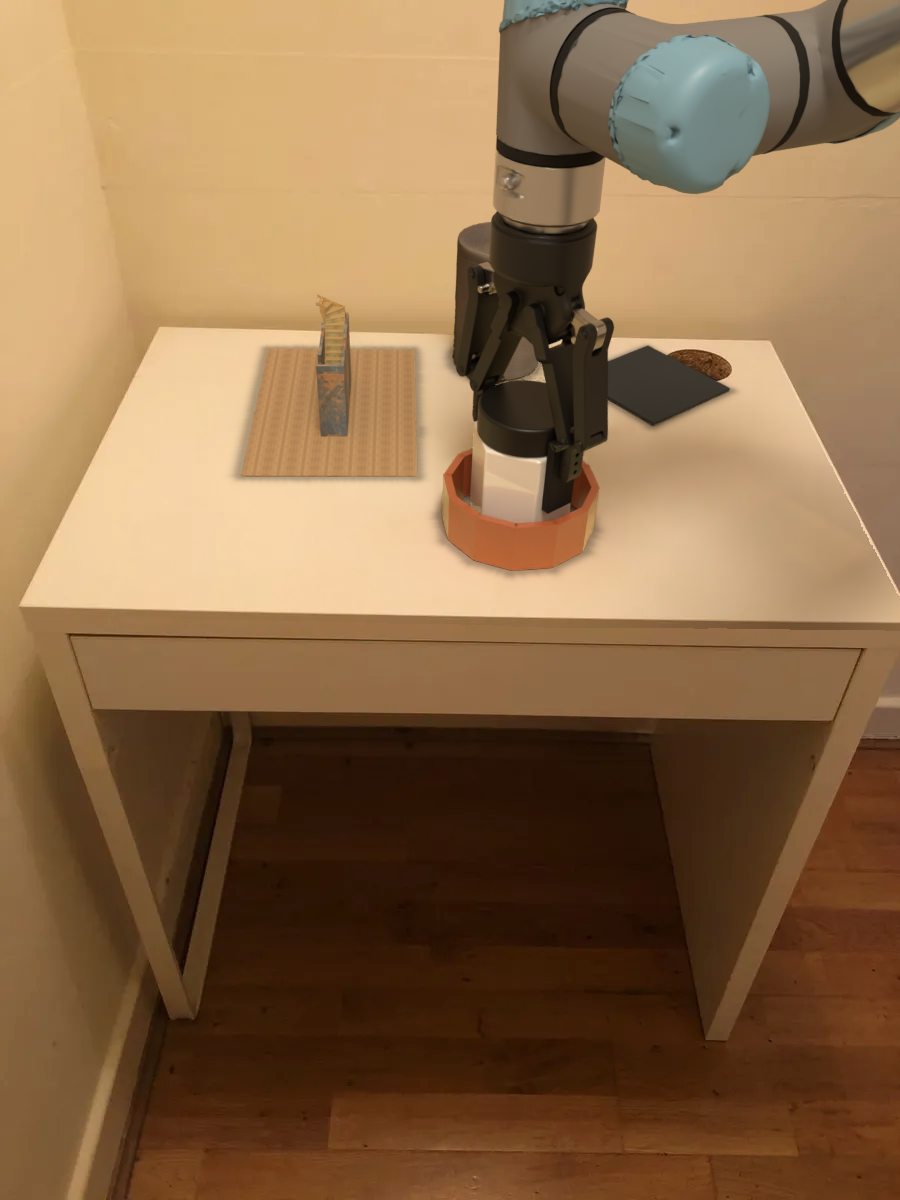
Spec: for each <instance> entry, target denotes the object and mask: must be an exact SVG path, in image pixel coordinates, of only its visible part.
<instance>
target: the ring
mask: <svg viewBox="0 0 900 1200" xmlns="http://www.w3.org/2000/svg"><path fill="white" fill-rule="evenodd" d="M472 451H473V447H471V448H469V449H466V450H464V451H462V452H459V453H458V454H457V455H456V456H455V457H454V459H453V460H452V462H450V465H448V467H447V468H446V470H445V471H444V473H443V474H442V475H443V476H442V503H441V504H442V507H441V510H442V511H441V517H442V521H443V525H444V529H445V534H446V537H447V541H449V542H450V543H451V544H452V545H454V546H455V547H456V548H457V549H458V550H460V551H461V552H463V553H464V554H465V555H466V556H468V557H469V558H470V559H471V560H472V561H475V562H478V563H483V564H486V565H489V566H494V567H497V568H500V569H504V570H509V571H512V572H514V571H524V570H539V569H552V568H553V569H554V568H556V567H558V566H559V565H561V564H562V563H564V562H566V561H568V560H570V559H572V558H574V557H576V556H578V555H580V554H582V553H583V552H584V549H585V547H586V546H587V543H588V542H589V539H590V537H591V535H592V533H593V531H594V527H595V521H596V514H597V507H598V501H599V496H600V495H599V494H600V490H601V489H600V486H599V484H598V481H597V479H596V477H595V474H594V472H593V470H592V469H591V466H590V465H589V464H588V463H587V462H585V461H582V466H581V467H582V468H581V473H580V475H579V477H577V478H575V479H574V486H573V494H572V501H571V504H570V505H572V506H573V507H574V508H576V509H574V510H572V511H571V512H569V513H568V514H566V515H564V516H562V517H560V518H558V519H556V520H554V521H542V522H528V523H513V522H510V521H506V520H502V519H498V518H494V517H490V516H486V515H482V514H480V513H478V512H477V511H476V510H474V509H473V508H472V507H470V504H468V503H467V502H466V501H464V500H463V499H464V498H465V497H468V496H470V490H471V471H472Z"/></svg>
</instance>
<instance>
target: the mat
mask: <svg viewBox="0 0 900 1200" xmlns="http://www.w3.org/2000/svg"><path fill="white" fill-rule="evenodd" d="M730 390H731V387H729V386H727V385H725V384H723V383H721V382H720V381H718V380H715V379H714V378H711V377H710V376H708V375H706V374H704V373H702V372H700V371H698V370H696V369H694V368H692V367H690V366H689V365H686V364H685V363H683V362H681V361H679V360H677V359H675V358H673V357H672V356H669V355H667V354H665V353H663V352H661V351H660V350H657V349H655V348H654V347H653V346H650V345H645V346H643V347H640V348H637V349H635V350H633V351H631V352H627V353H625V354H622V355H621V356H618V357H615V358H613V359H610V360H608V401H610V402H611V403H613V404H615V405H617V407H620V408H621V409H623V410H625V411H627V412H628V413H630V414H632V415H634V416H635V417H637V418H639V419H641V420H642V421H644V422H646V423H647V424H649V425H651V426H656V425H658V424H661V423H663V422H665V421H667V420H669V419H671V418H673V417H676V416H678V415H680V414H683V413H685V412H686V411H687V412H688V411H689V410H691V409H694V408H695V407H697V406H700V405H703V404H704V403H706V402H709V401H711V400H713V399H715V398H717V397H719V396H722V395H724V394H726V393H729V392H730Z"/></svg>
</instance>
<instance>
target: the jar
mask: <svg viewBox="0 0 900 1200" xmlns="http://www.w3.org/2000/svg"><path fill="white" fill-rule="evenodd" d="M473 422H474V421H473ZM571 429H574V427H572V428H571ZM472 432H473V434H472V448H473V451H472V471H471V490H470V495H469V506H470V507H472V508H473V509H474V510H476V511H477V512H478V513H480V514H482V515H486V516H490V517H494V518H498V519H502V520H506V521H510V522H513V523H528V522H542V521H554V520H556V519H558V518H560V517H562V516H564V515H566V514H568V513H571V512H570V511H571V505H572V504H571V503H569V504H567V505H565V506H563V507H561V508H559V509H557V510H555V511H553V512H551V513H549V514H547V513H546V512H544V511H543V510H541V509H542V500H543V491H544V481H545V472H546V463H547V454H548V444H549V442H551V441H553V440H556V439H557V438H556V433H555V428H554V422H553V417H552V412H551V407H550V402H549V397H548V392H547V387H546V382H545V381H544V382H543V381H537V380H527V379H519V380H508V381H504V382H502V383H499V384H496V385H495V386H493V387H491V388H489V389H487V390H486V391H485V392H484V393H483V394H482V395H481V397H480V399H479V402H478V419H477V421H476V422H474V423H473V431H472Z"/></svg>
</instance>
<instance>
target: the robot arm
mask: <svg viewBox="0 0 900 1200" xmlns="http://www.w3.org/2000/svg"><path fill="white" fill-rule="evenodd" d="M629 1H630V0H504V1H503V11H502V20H501V22H500V23H499V26H498V33H499V49H498V50H499V54H498V75H497V76H498V77H497V79H498V80H497V100H496V101H497V103H496V125H495V127H496V129H495V136H496V139H495V142H496V143H495V154H494V155H495V157H494V172H493V173H494V174H493V189H492V190H493V192H492V194H493V195H492V206H493V208H494V210H495V213H494V214H493V215H492V216H491V219H490V222H491V234H490V253H489V261H488V262H485V263H482V264H478V265H475V266H472V267H469V268H468V270H467V277H468V292H469V296H468V302H467V307H466V313H465V319H464V325H463V330H462V336H461V342H460V347H459V353H458V359H457V365H455V369H456V372H457V375H459V377H462V378H463V377H466V378H467V379H468V380H469V381H468V383H469V387H470V389H471V391H472V392H473V394H472V421H473V422H476V421H477V419H478V402H479V399H480V397H481V395H482V394H483V393H484V392H485V391H486V390H487V389H489V388H491V387H493V386H495V385H497V384H500V383H504V382H507V380H506V379H504V380H502V378H505V377H504V376H503V375H504V373H505V371H506V369H507V367H508V365H509V363H510V361H511V359H512V357H513V355H514V353H515V351H516V349H517V347H518V344H519V342H520V340H521V338H522V337H525V338H526V339H527V340H528V341H529V342H530V343H531V344H532V345H533V349H534V354H535V358H536V360H537V361H538V363H540V364H541V367H542V371H543V377H544V383H546V387H547V392H548V397H549V402H550V407H551V412H552V417H553V422H554V428H555V433H556V438H557V439H556V440H553V441H551V442H549V444H548V454H547V463H546V472H545V481H544V491H543V500H542V509H541V510H543V511H544V512H546V513H547V514H549V513H551V512H553V511H555V510H557V509H559V508H561V507H563V506H565V505H567V504H569V503H571V501H572V494H573V486H574V479H575V478H577V477H579V475H580V473H581V468H582V467H581V466H582V461H583V460H584V454H585V452H586V451H588V450H591V449H593V448H595V447H597V446H600V445H602V444H604V443H606V442H607V441H608V439H609V400H608V361H609V348H610V344H611V341H612V337H613V334H614V331H615V324H614V322H613V320H612V319H611V318H610V317H603V318H601V319H597V318H596V317H595V316H594V315H592V313H590V312H589V311H587V310H586V302H585V299H584V294H583V286H584V284H585V282H586V280H587V277H588V276H589V274H590V273H591V271H592V269H593V263H594V256H595V247H596V239H597V232H598V223H597V221H596V220H595V217H596V216H598V215H599V213H600V211H601V202H602V194H603V193H602V192H603V184H604V176H605V175H604V174H605V167H606V166H605V165H606V159H608V160H610V161H611V162H613V163H614V164H617V165H619V166H621V167H622V168H624V169H626V170H628V171H629V172H630V174H632V175H634V176H637V178H638V179H640V180H642V181H648V182H649V183H651V184H652V185H654V186H659V187H665V188H668V189H671V190H673V191H676V192H679V193H682V194H687V195H688V194H689V195H699V194H706V193H710V192H712V191H715V190H717V189H719V188H720V187H722V186H724V185H725V184H724V183H725V182H726V181H727V180H729V178H731V177H732V176H734V175H737V174H740V172H741V171H742V170H743V169H744V168H745V167H746V166H747V165H748V163H749V162H750V161H751V159H752V157H755V156H759V155H760V156H761V155H766V154H769V153H772V152H780V151H785V150H792V149H798V148H803V147H810V146H816V145H822V144H833V145H837V144H842V143H848V142H850V141H854V140H857V139H860V138H864V137H866V136H868V135H870V134H874V133H877V132H881V131H883V130H885V129H887V128H889V127H890V126H892V125H893V124H894V123H896V122H897V121H898V120H899V119H900V0H824V1H822V2H821V3H819V4H817V5H815V6H812V7H810V8H806V9H803V10H797V11H788V12H779V13H772V14H771V13H770V14H763V15H756V16H755V15H754V16H747V17H737V18H736V17H735V18H728V19H727V18H726V19H718V20H717V19H716V20H715V19H714V20H706V21H698V22H689V23H668V22H662V21H658V20H656V19H651V18H648V17H645V16H641V15H637V14H636V13H634V12H631V11H629V10H627V8H628V3H629ZM560 341H561V343H559V344H556V345H554V346H552V347H550V345H552V344H555V343H558V342H560ZM474 354H475V357H473V358H472V356H473V355H474ZM572 427H574V429H571V428H572Z"/></svg>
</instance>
